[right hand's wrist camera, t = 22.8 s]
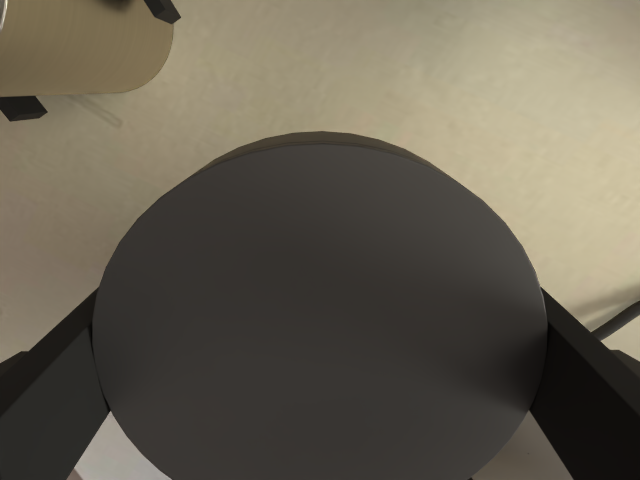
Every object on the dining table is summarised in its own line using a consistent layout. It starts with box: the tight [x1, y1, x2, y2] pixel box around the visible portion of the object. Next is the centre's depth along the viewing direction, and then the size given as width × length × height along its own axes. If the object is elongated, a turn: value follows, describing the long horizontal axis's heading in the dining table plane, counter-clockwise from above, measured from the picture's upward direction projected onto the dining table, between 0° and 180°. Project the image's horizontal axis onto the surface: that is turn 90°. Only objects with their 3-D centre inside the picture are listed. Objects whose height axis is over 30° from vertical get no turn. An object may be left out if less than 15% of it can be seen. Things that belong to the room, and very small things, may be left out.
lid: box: [92, 131, 548, 480], centre depth 11 cm, size 11×11×2 cm
